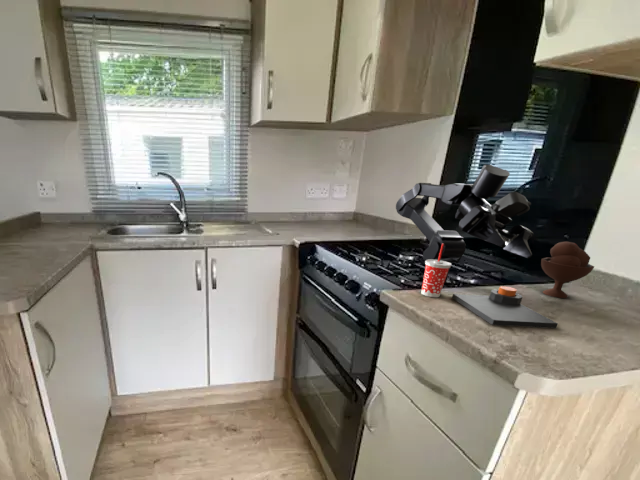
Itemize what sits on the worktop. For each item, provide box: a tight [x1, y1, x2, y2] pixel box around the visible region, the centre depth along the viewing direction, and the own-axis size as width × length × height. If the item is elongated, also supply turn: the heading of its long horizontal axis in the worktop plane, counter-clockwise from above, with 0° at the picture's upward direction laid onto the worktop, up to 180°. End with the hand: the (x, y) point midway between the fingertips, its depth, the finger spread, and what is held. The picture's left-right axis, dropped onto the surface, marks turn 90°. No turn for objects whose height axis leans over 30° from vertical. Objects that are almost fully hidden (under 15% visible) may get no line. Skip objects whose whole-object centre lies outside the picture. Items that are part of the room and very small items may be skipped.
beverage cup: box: [420, 243, 452, 298], centre depth 94 cm, size 6×6×14 cm
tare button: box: [498, 285, 518, 296], centre depth 90 cm, size 4×4×2 cm
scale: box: [451, 288, 559, 329], centre depth 86 cm, size 17×15×3 cm
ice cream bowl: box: [540, 241, 595, 299], centre depth 98 cm, size 11×11×15 cm
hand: (516, 250), depth 80 cm, fingers open, 9 cm apart
